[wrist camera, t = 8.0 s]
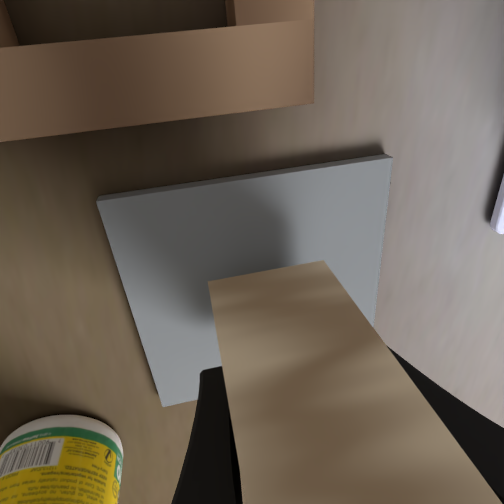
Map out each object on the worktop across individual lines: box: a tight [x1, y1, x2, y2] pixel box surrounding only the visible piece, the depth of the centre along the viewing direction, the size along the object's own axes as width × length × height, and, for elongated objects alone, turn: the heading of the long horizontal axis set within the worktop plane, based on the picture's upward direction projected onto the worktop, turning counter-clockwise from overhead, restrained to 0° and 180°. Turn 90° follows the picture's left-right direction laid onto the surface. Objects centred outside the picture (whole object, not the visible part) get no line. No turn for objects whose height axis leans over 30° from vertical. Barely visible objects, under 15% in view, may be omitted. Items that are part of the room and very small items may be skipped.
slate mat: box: [96, 154, 393, 407], centre depth 15 cm, size 10×10×1 cm
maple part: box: [208, 260, 502, 504], centre depth 10 cm, size 4×4×8 cm
